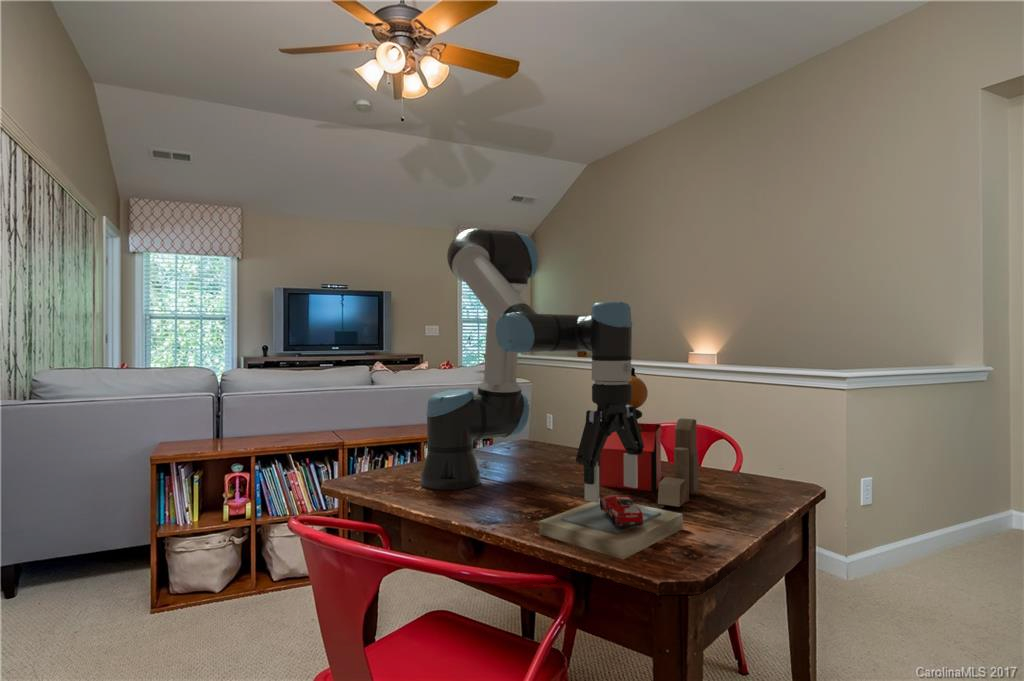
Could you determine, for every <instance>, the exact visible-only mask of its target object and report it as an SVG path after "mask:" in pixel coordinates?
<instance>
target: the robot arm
mask: <svg viewBox="0 0 1024 681" xmlns="http://www.w3.org/2000/svg"><path fill="white" fill-rule="evenodd" d="M448 246H449V247H448V249H447V254H446V260H447V261H446V262H447V264H448V266H449V269H450V271H451V273H452V274H453V275H454V276H455V278H456V279H457V280H459V281H461V282H464V283H465V284H466V285H467V286H468V287H469V289H470V290H471V292H472V293H473V294H474V295H475V296H476V298H477V299H478V300H479V302H480V303H481V304H482V306H483V307H484V308H485V310H486V311H487V312H486V313H487V314H486V333H485V334H486V335H485V349H484V350H485V352H484V370H483V371H484V373H483V375H484V376H483V380H482V381H481V382H480V383H479V384H478V385H477V394H474V391H473V390H472V389H469V388H467V389H464V388H463V389H462V388H461V389H451V390H445V391H441V392H436V393H434V394H432V395H431V396H429V398H428V399H427V409H426V421H427V423H426V428H427V429H426V430H427V431H426V432H427V433H426V436H427V439H426V442H427V452H426V456H425V459H424V464H423V467H422V471H421V472H420V485H421V486H422V487H424V488H426V489H431V490H437V491H438V490H439V491H452V490H453V491H454V490H455V491H456V490H464V489H469V488H473V487H476V486H478V485H480V483H481V473H480V471H479V467H478V462H477V460H476V457H475V454H474V440H484V439H494V438H495V439H496V438H507V437H511V436H517V435H519V434H521V432H522V431H523V430H524V429H525V428H526V426H527V423H528V422H529V417H530V404H529V403H528V402H529V400H528V397H527V396H526V394H525V393H523V392H522V386H521V385H520V384H519V383H518V382H517V375H518V373H517V372H518V358H519V357H518V356H519V353H520V354H522V353H533V352H534V353H536V352H537V353H538V352H540V353H541V352H543V353H544V352H575V353H576V352H591V380H592V381H593V382H594V383H593V384H592V385H591V401H592V403H594V404H596V410H589V409H587V411H586V413H585V414H586V415H585V423H584V426H583V431H582V435H581V439H580V442H579V446H578V450H577V454H576V458H575V462H576V464H578V465H581V466H583V482H584V501H587V502H595V503H598V502H599V499H600V485H599V466H596V465H597V461H598V459H599V457H600V454H601V452H602V449H603V447H604V445H605V442H606V440H607V437H608V436H610V435H611V434H612V433H613V432H615V431H616V432H617V434H618V436H619V438H620V440H621V442H622V444H623V446H624V448H625V450H626V452H627V453H628V454H627V453H625V454H624V486H626V487H631V488H638V463H637V454H640V455H642V454H643V449H644V443H643V440H642V436H641V432H640V429H639V425H638V423H639V421H638V419H637V418H636V409H637V408H635V406H633V405H626V404H630V403H631V402H632V386H631V384H628V381H631V370H632V344H633V343H632V330H633V329H632V327H633V321H632V312H631V311H632V309H631V305H630V304H629V303H627V302H623V301H600V302H595V303H593V304H592V306H591V311H590V312H591V313H590V314H559V313H558V314H555V313H554V314H553V313H537V312H536V311H535V309H533V308H532V307H531V305H529V303H528V302H527V301H526V300H525V299H524V298H523V297H522V291H523V290H524V289H525V288H526V287H528V282H529V280H530V279H531V278H533V277H534V276H535V274H536V271H537V270H538V265H539V255H538V249H537V246H536V243H535V242H534V240H533V239H532V237H530V236H529V235H528V234H526V233H521V232H517V231H507V230H495V229H487V228H485V229H483V228H478V227H477V228H468V229H466V230H464V231H461V232H460V233H458V234H457V235H456V236H455V237H454V238H453V239H452V241H451V242H450V244H449V245H448ZM600 427H601V428H600ZM636 442H638V443H636Z"/></svg>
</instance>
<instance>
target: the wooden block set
mask: <svg viewBox="0 0 1024 681" xmlns="http://www.w3.org/2000/svg"><path fill="white" fill-rule="evenodd" d="M674 432H675V436H674V438H675V439H674V441H675V443H674V445H675V447H674V449H673V450H674V451H673V464H674V465H673V467H674V468H673V469H674V470H673V474H674V477H670V476H664V477H663V479H662V478H661V480H660V482H659V485H658V489H657V490H658V492H657V504H659V505H664V506H665V505H666V506H670V507H681V506H682V505H684V504H685V503H688V502H689V501H690V494H691V495H694V494H695V493H697V491H699V453H698V452H697V448H698V447H697V420H696V419H694V418H682V417H681V418H679V419H677V421H676V423H675V428H674Z"/></svg>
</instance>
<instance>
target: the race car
mask: <svg viewBox="0 0 1024 681" xmlns="http://www.w3.org/2000/svg"><path fill="white" fill-rule="evenodd" d="M599 499H600V508H601V510H603V511H604V512H605V513H606V514H607V516H608V517H609V518H610V519H611V520H612V522H613V524H614V525H618V526H625V527H627V526H637V525H638V526H640V525H643V515H642V512H641V510H640V509H639V508H638V506H637V505H636V504H637V503H636V502H635V501H634V500H633V497H630V496H629V495H618V494H608V495H604V496H601V498H599Z"/></svg>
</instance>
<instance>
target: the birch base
mask: <svg viewBox="0 0 1024 681" xmlns="http://www.w3.org/2000/svg"><path fill="white" fill-rule="evenodd" d="M600 499H601V498H599V502H598V503H595V502H591V501H589V502H587V503H585V504H582V505H579V506H577V507H573V508H572V509H571V508H570V509H569V510H566V511H564V512H561V513H557V514H555V515H553V516H549V517H547V518H544V519H541V520H539V522H538V525H539V529H538V530H539V532H538V533H539V535H540V536H545V537H548V538H550V539H554V540H557V539H558V541H561V542H565V543H567V544H570V545H574V546H578V547H581V548H583V549H587V550H590V551H594V552H597V553H600V554H603V555H606V556H609V557H613V558H616V559H619V560H625V559H627V558H629V557H631V556H633V555H634V554H637V553H639V552H640V551H642V550H644V549H646V548H649V547H651V546H652V545H654V544H656V543H658V542H660V541H663V540H664V539H665V538H668V537H670V536H672V535H674V534H675V533H678V532H679V531H681V530H683V529H684V528H683V526H684V525H683V524H684V523H683V522H684V520H683V519H684V517H683V513H681V512H674V511H670V510H666V509H661V508H657V507H651V506H646V505H643V504H637V503H635V504H636V505H637V506H638V508H639V509H640V510H641V512H642V515H643V525H640V526H638V525H637V526H627V527H625V526H618V525H614V524H613V522H612V520H611V519H610V518H609V517H608V516H607V514H606V513H605V512H604V511H603V510H601V508H600Z"/></svg>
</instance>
